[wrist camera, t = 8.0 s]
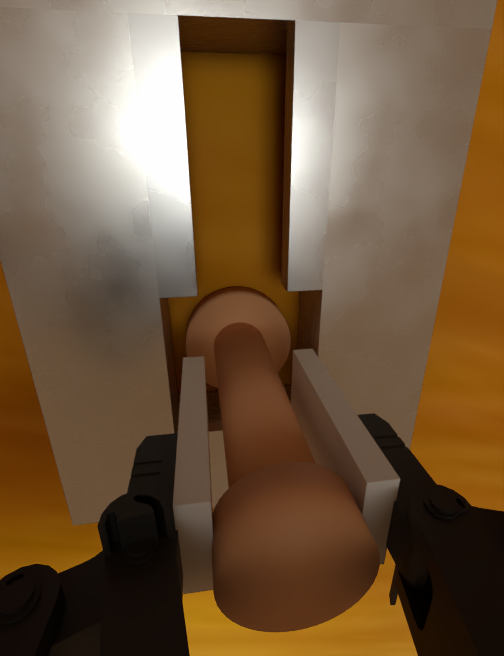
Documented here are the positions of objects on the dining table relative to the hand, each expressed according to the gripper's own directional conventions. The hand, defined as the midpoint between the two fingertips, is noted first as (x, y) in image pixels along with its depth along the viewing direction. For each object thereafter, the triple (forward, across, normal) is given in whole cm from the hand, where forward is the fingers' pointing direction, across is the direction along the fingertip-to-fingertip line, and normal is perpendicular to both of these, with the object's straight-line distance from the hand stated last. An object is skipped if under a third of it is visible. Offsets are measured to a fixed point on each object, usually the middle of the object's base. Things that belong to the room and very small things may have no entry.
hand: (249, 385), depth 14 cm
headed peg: (+5, 0, 0) cm, 5 cm away
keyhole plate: (+5, 0, +5) cm, 7 cm away
